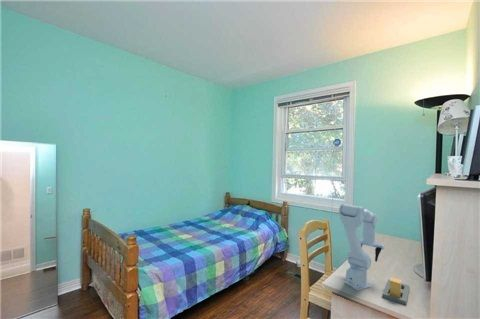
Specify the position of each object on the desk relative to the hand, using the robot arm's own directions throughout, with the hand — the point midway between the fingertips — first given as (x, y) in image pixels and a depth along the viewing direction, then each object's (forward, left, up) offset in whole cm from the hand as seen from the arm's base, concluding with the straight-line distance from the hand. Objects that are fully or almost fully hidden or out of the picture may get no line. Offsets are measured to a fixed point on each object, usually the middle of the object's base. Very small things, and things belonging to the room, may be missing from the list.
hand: (368, 258), depth 127 cm
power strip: (-2, -17, -10) cm, 19 cm away
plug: (-5, -18, -10) cm, 21 cm away
